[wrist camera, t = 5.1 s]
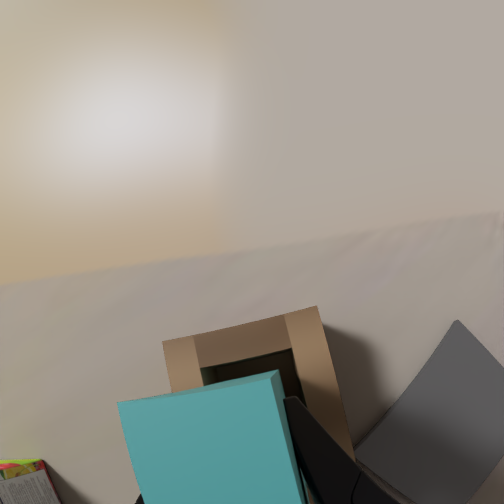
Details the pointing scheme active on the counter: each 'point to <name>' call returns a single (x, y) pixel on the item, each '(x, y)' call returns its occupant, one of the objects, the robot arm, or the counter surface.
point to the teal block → (215, 444)
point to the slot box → (267, 364)
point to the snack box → (26, 483)
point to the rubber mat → (442, 425)
